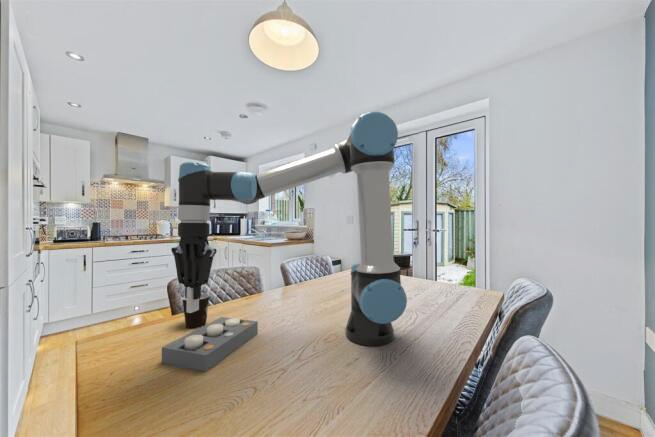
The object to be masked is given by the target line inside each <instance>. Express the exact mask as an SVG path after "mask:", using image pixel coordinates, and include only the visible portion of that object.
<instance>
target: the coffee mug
mask: <svg viewBox="0 0 655 437" xmlns="http://www.w3.org/2000/svg"><path fill="white" fill-rule="evenodd" d="M181 299H182V300H181V301H182V308H183V314H184V321H185V322H184V323H185V328H186V329H192V330H193V329H194V330H195V329H199V328H201V327H203V326H205V325H207V318H208V311H209V300H210V293H205V292H204V293H203V292H201V297H200V298H199V310H197V311H195V312H192V313H187V312H186V307H187V299H186V298H185V295H184V296H183V297H182V298H181Z"/></svg>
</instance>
